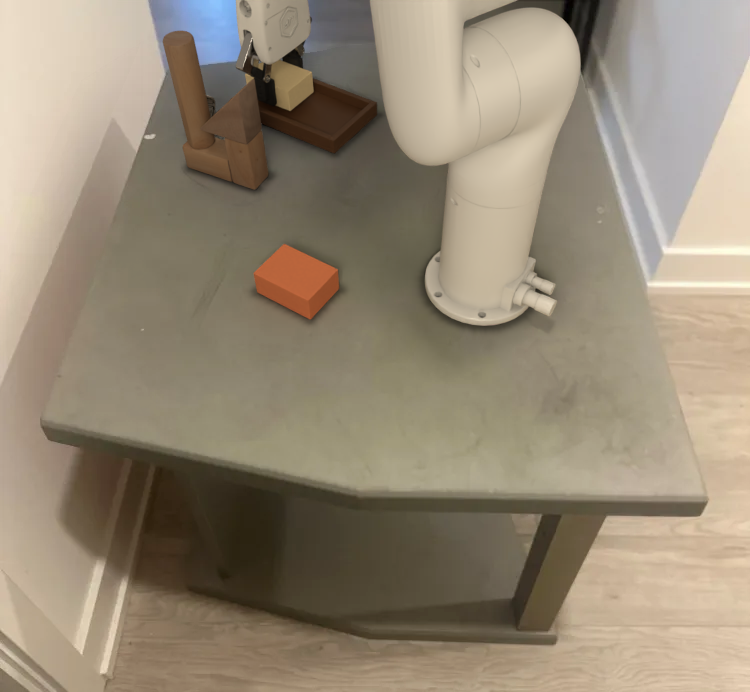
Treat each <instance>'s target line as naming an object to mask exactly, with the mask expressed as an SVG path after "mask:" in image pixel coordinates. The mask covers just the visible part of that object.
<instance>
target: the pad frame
mask: <svg viewBox="0 0 750 692" xmlns="http://www.w3.org/2000/svg"><path fill="white" fill-rule="evenodd" d="M312 78H313V90H314V92H313V93H312V94H311V95H309V96H308V97H307V98H306V99H305V100H303V101H302V102H301V103H300V104H298V105H297V106H296V107H295V108H294V109H292V110H291V111H288V110H286V109H283V108H281V107H278V106H276V105H275V106H271V105H269V104H266V103H264V102H261V101H259V100H258V99H257V100H258V106H259V113H260V119H261V125H264V126H267V127H269V128H271V129H274V130H276V131H278V132H281V133H284V134H286V135H288V136H290V137H293V138H295V139H297V140H300V141H302V142H305V143H308V144H310V145H313V146H315V147H317V148H320V149H322V150H324V151H327V152H328V153H329V152H330V153H331V154H336V153H338V151H339V150H340V149H342V148H343V147H344V146H345V145H346V144H347V143H348V142H349V141H350V140H351V139H352V138H353V137H354V136H356V135H357V134H358V133H359V132H360V131H361V130H363V128H365V127H366V126H367V125H368V124H369V123H370V122H371V121H372V120H374V118H376V117H377V116H378V102H377V101H375V100H372V99H369V98H366V97H365V96H362V95H359V94H356V93H354V92H352V91H349V90H345V89H343V88H340V87H337V86H335V85H332V84H330V83H326V82H324V81H322V80H319V79H317V78H314V77H312ZM233 97H234V96H232V97H231V98H230V99H232V98H233Z"/></svg>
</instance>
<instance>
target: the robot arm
mask: <svg viewBox="0 0 750 692" xmlns="http://www.w3.org/2000/svg"><path fill="white" fill-rule="evenodd" d="M516 1H518V0H369V6H370V15H371V20H372V30H373V36H374V43H375V44H374V45H375V52H376V60H377V66H378V75H379V81H380V89H381V95H382V102H383V107H384V112H385V116H386V119H387V123H388V126H389V129H390V132H391V134H392V136H393V138H394V140H395V142H396V144H397V146H398V147H399V149H400V150H401V151H402V152H403V154H405V156H406V157H408V158H409V159H410V160H411V161H413V162H414V163H417V164H419V165H422V166H426V167H437V166H443V165H446V164H447V165H448V166H447V174H446V184H445V185H446V186H445V196H444V206H443V207H444V209H443V218H442V219H443V221H442V232H441V243H440V250H439V251H437V253H435V254H434V255H433V257H432V258H430V260H429V261H428V264H427V266H426V269H425V275H424V288H425V292H426V295H427V297H428V299H429V301H431V303H432V304H433V305H434V307H435V308H437V310H438V311H440V312H441V313H442V314H444V315H445V316H447V317H449V318H451V319H452V320H455V321H457V322H461V323H463V324H468V325H472V326H481V327H484V326H485V327H486V326H496V325H500V324H505V323H508V322H510V321H513V320H515V319H516V318H518V317H520V316H522V314H524V313H525V311H527V310H528V308H532V309H533V310H534V311H536V312H537V313H540V314H543V315H545V316H547V317H551V316H552V314H553V312H554V311H555V309H556V306H557V304H558V300H557V299H555V298H552V297H550V296H551V295H552V294H553V292H554V291H555V288H556V284H557V283H554V282H552V281H550V280H548V279H545V278H542V277H540V276H538V273H537V272H535V265H536V262H537V259H536V258H534V257H532V256H529V255H530V251H531V245H532V242H533V237H534V232H535V229H536V228H535V227H536V224H537V219H538V214H539V210H540V204H541V200H542V195H543V191H544V188H545V185H546V181H547V180H546V179H547V174H548V170H549V166H550V162H551V159H552V155H553V152H554V148H555V146H556V142H557V138H558V136H559V134H560V131H561V129H562V127H563V125H564V122H565V120H566V118H567V116H568V113H569V111H570V108H571V107H572V104H573V102H574V99H575V96H576V93H577V89H578V86H579V82H580V81H579V80H580V76H581V67H582V65H581V61H582V60H581V52H580V46H579V43H578V41H577V40H578V39H577V37H576V35H575V33H574V31H573V29H572V28H571V27H570V25H569V23H567V21H565V20H564V19H563V18H562V17H561V16H559V15H558V14H557V13H555V12H553V11H551V10H549V9H545V8H541V7H529V6H528V7H521V8H514V9H510V10H507V11H504V12H501V13H497V14H495V15H492V16H490V17H488V18H485V19H482V20H480V21H478V22H475V23H473V24H469V25H467V26H465V22H466V21H469V20H471V19H474V18H477V17H478V16H481V15H484V14H486V13H489V12H492V11H494V10H497V9H499V8H502V7H504V6H507V5H510V4H512V3H515V2H516ZM235 15H236V25H237V33H238V41H239V45H240V51H239V54H238V56H237V60H236V63H235V69H236V70H238V71H241V72H243V73H245V74H248V75H250V76H251V77H254V80H255V87H256V93H257V99H258V100H259V101H261V102H264V103H266V104H269V105H271V106H275V105H276V104H277V99H276V91H275V82H274V79H272V78H271V69H272V64H273V63H275V62H277V61H278V60H281V61H284V62H286V63H289V64H292V65H294V66H297V67H300V68H302V69H304V61H303V56H305V51H306V50H305V47H304V45H305V43H306V40H307V39H308V38H309V36H310V35H311V31H312V22H313V18H312V17H311V13H310V5H309V0H235ZM261 62H264V63H263V70H261V69H259V68H258V67H259V64H260V63H261ZM536 289H537V290H539V291H540V292H541V293H539V292H537V291H536ZM543 293H544V294H543ZM546 294H547V295H546ZM548 295H549V296H548Z"/></svg>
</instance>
